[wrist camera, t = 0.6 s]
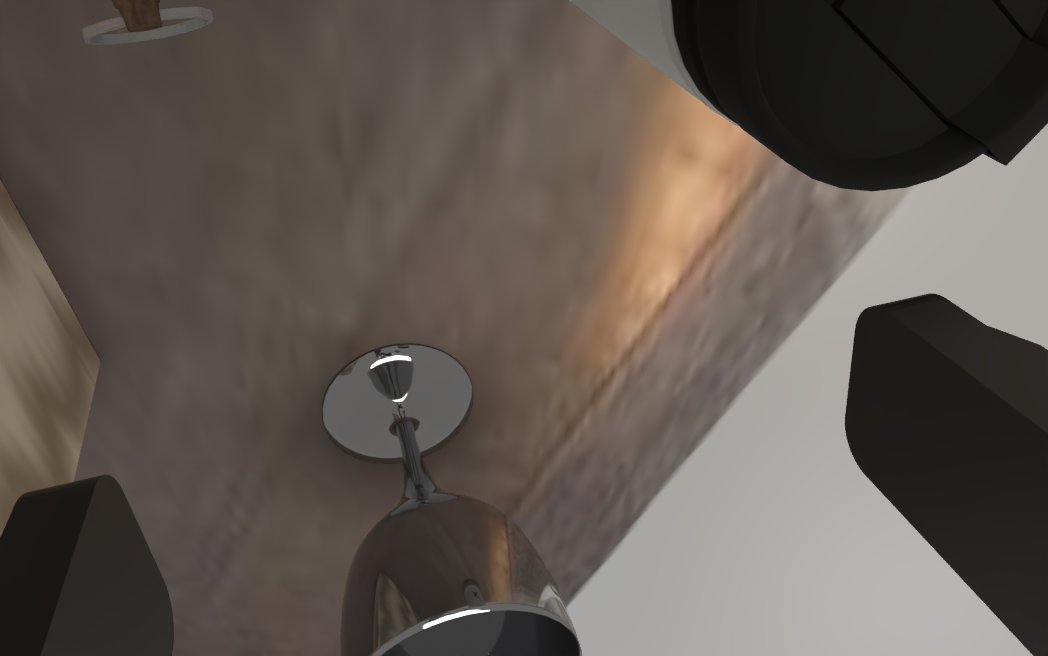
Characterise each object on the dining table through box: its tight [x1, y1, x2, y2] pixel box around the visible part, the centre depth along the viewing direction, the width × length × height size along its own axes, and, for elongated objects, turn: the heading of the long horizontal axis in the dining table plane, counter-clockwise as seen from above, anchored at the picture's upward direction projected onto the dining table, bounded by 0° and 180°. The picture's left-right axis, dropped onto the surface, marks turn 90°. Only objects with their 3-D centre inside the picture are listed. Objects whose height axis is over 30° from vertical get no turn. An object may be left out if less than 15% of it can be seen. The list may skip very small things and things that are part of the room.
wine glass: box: [322, 344, 582, 656], centre depth 33 cm, size 8×8×15 cm
